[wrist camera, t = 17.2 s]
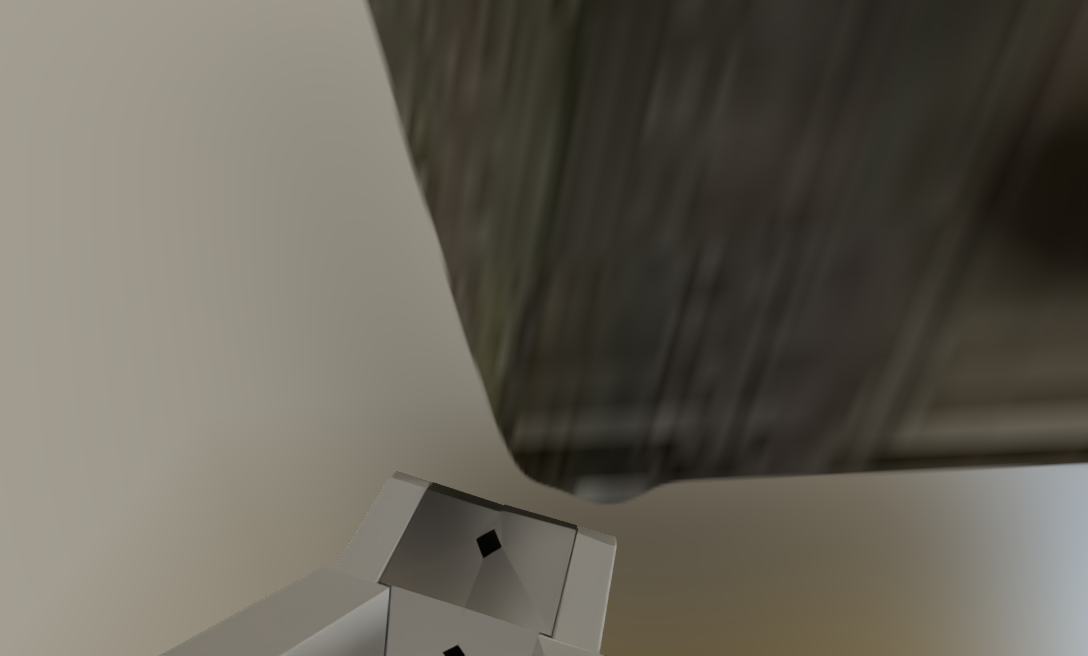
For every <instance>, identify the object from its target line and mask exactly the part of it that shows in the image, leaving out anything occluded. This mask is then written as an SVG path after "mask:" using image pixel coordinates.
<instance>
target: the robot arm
mask: <svg viewBox="0 0 1088 656" xmlns="http://www.w3.org/2000/svg"><path fill="white" fill-rule="evenodd" d="M616 547H617V543H616V538H615V537H614V536H610V535H607V534H603V533H600V532H597V531H593V530H590V529H586V528H583V527H580V526H578V528H577V525H574V524H570V523H567V522H564V521H560V520H557V519H553V518H550V517H546V516H542V515H539V514H536V513H532V512H529V511H525V510H522V509H518V508H515V507H511V506H508V505H501V504H498V503H495V502H492V501H489V500H486V499H483V498H480V497H477V496H473V495H470V494H467V493H464V492H461V491H458V490H455V489H452V488H449V487H446V486H443V485H440V484H437V483H434V482H433V483H432V482H429V481H426V480H423V479H420V478H417V477H414V476H410V475H407V474H404V473H401V472H398V471H396V472H395V473H394V474H393V475H392V476H391V477H390V478H388V480H387V481H386V483H385V485H384V486H383V488H382V489H381V491H380V493H379V495H378V496H377V498H376V500H375V501H374V503H373V504H372V506H371V508H370V509H369V511H368V513H367V515H366V516H365V518H364V519H363V521H362V523H361V524H360V526H359V528H358V529H357V531H356V533H355V534H354V536H353V538H352V539H351V541H350V543H349V544H348V546H347V548H346V549H345V551H344V552H343V554H342V556H341V557H340V559H339V561H338V562H337V564H336V566H335V567H334V569H332V568H328V567H324V566H321V567H319V568H317V569H316V570H314V571H312V572H310V573H309V574H306V575H305V576H303V577H301V578H299V579H298V580H296V581H294V582H292V583H290V584H288V585H286V586H285V587H283V588H281V589H279V590H277V591H276V592H274V593H272V594H270V595H268V596H266V597H265V598H263V599H261V600H259V601H257V602H256V603H254V604H252V605H250V606H249V607H247V608H245V609H243V610H241V611H239V612H237V613H236V614H234V615H232V616H230V617H228V618H227V619H225V620H223V621H221V622H219V623H218V624H216V625H214V626H212V627H210V628H208V629H207V630H205V631H203V632H201V633H199V634H198V635H196V636H194V637H192V638H190V639H189V640H187V641H185V642H183V643H181V644H180V645H178V646H176V647H174V648H172V649H171V650H169V651H167V652H165V653H163V654H161V655H160V656H606V655H603V654H600V653H599V652H600V646H601V640H602V633H603V627H604V621H605V615H606V608H607V603H608V596H609V590H610V584H611V578H612V571H613V565H614V559H615V553H616Z"/></svg>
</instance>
